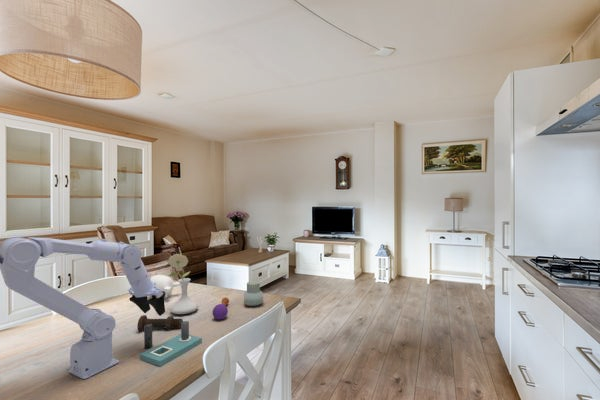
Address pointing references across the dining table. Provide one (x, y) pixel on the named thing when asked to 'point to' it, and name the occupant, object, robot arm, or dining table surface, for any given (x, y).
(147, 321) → the bolt
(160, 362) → the pin board
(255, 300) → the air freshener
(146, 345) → the pin
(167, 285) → the piggy bank
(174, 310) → the flower in vase
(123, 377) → the dining table surface
